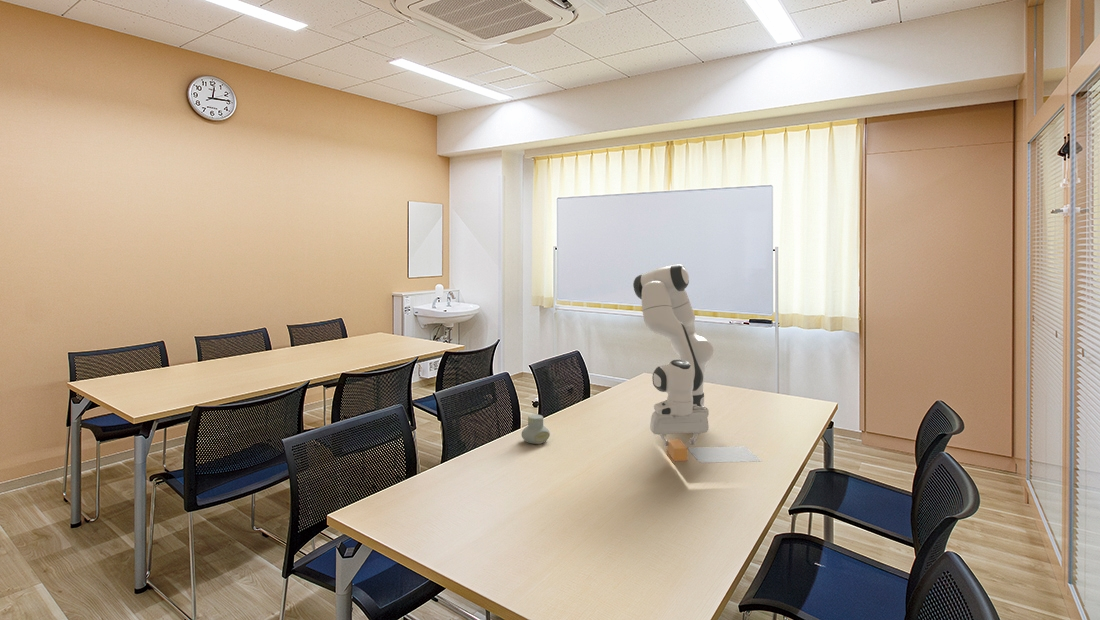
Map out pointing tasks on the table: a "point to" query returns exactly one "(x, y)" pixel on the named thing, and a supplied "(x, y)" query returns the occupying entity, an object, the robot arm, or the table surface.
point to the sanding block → (677, 450)
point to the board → (723, 454)
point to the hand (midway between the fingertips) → (679, 444)
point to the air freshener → (535, 430)
